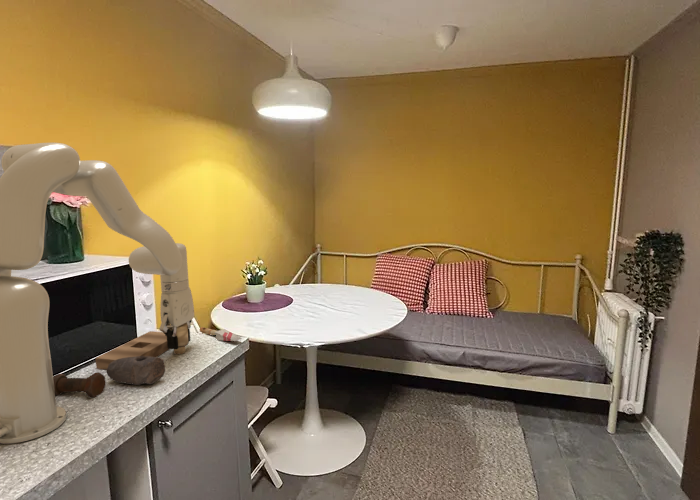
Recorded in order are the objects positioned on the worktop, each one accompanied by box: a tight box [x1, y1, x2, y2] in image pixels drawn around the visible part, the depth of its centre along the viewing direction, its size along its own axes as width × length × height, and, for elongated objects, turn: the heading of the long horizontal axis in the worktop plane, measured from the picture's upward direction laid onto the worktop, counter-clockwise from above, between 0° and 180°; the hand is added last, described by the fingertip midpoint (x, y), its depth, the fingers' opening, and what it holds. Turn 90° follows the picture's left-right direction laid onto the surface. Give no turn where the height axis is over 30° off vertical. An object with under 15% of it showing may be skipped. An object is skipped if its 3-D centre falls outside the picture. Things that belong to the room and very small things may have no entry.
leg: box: [170, 323, 190, 355], centre depth 127 cm, size 5×5×8 cm
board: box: [95, 330, 170, 371], centre depth 126 cm, size 22×11×3 cm, turn 167°
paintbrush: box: [199, 326, 243, 342], centre depth 139 cm, size 4×3×20 cm
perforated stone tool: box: [106, 356, 166, 386], centre depth 108 cm, size 15×5×7 cm, turn 81°
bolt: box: [53, 372, 107, 399], centre depth 103 cm, size 6×5×15 cm
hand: (179, 344), depth 127 cm, fingers closed on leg, 5 cm apart
